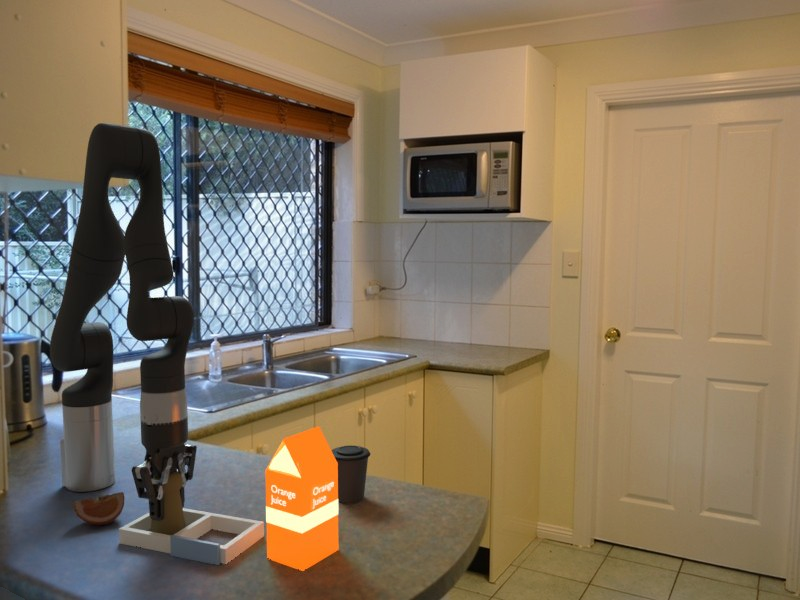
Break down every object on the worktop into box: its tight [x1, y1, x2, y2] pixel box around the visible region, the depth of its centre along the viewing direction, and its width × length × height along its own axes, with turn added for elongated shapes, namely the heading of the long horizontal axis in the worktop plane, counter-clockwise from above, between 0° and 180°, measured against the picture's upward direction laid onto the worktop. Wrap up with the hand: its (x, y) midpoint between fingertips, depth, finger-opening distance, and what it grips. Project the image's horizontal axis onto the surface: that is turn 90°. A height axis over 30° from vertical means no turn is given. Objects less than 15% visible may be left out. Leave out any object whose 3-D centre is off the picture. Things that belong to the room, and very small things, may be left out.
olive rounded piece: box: [149, 472, 187, 536], centre depth 118 cm, size 6×6×11 cm
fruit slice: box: [72, 491, 125, 526], centre depth 124 cm, size 8×7×5 cm
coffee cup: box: [331, 445, 371, 505], centre depth 134 cm, size 8×8×10 cm
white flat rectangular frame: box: [118, 507, 265, 566], centre depth 116 cm, size 21×12×3 cm, turn 69°
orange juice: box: [264, 425, 340, 572], centre depth 110 cm, size 8×9×20 cm
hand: (167, 513), depth 118 cm, fingers closed on olive rounded piece, 4 cm apart
